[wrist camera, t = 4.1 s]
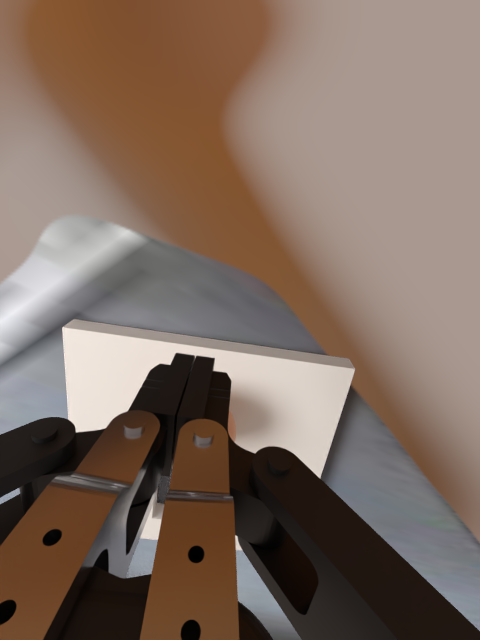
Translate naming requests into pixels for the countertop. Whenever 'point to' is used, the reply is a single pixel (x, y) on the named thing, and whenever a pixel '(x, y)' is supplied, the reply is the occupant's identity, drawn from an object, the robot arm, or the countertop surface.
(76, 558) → the robot arm
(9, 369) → the countertop surface
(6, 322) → the countertop surface
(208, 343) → the white square board
